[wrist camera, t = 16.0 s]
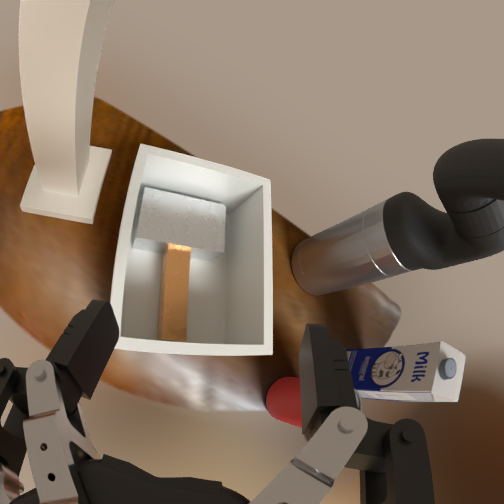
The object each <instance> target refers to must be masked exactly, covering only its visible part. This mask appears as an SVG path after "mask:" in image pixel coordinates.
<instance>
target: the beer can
mask: <svg viewBox="0 0 504 504" xmlns="http://www.w3.org/2000/svg"><path fill="white" fill-rule="evenodd" d="M354 391H355V396H356V401H357V405H358V408H359V410H360V411H361V409H362V400H361V396H360V394H359V392H358V391H357V390H356V389H355V388H354ZM266 406H267V409H268V411H269V413H270V414H271V416H272V417H274V418H275V419H278V420H280V421H283V422H286V423H289V424H292V425H295V426H298V427H301V428H302V411H301V391H300V378H297V377H283V378H281V379H278V380H277V381H276V382H275V383H273V384H272V386H271V387H270V389H269V390H268V394H267V397H266Z"/></svg>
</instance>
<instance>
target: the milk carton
mask: <svg viewBox="0 0 504 504" xmlns="http://www.w3.org/2000/svg"><path fill="white" fill-rule="evenodd" d="M346 352H347V356H348V362H349V366H350V371H351V375H352V380H353V385H354V388H355V389H356V390H357V391H358V392H359V394H360V396H361V398H365V399H376V400H391V401H415V402H458V398H459V393H460V388H461V383H462V377H463V371H464V364H465V357H466V356H465V355H464V354H462V353H461V352H460V351H459V350H457V349H455V348H453V347H452V346H450V345H448V344H446V343H445V342H443V341H441V342H434V343H426V344H417V345H407V346H397V347H384V348H369V349H350V350H346Z"/></svg>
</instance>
